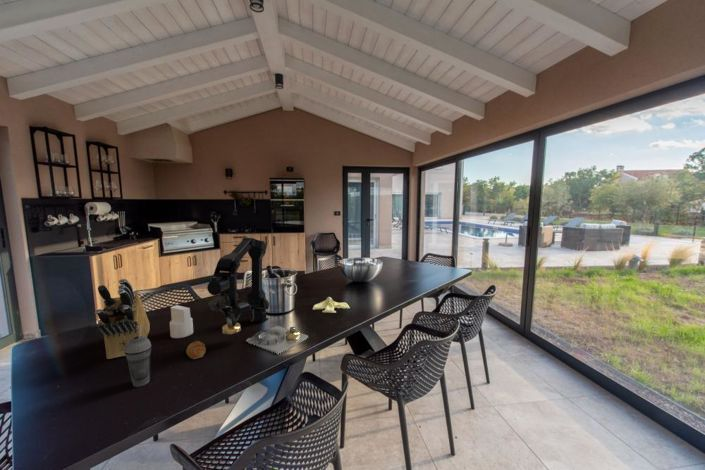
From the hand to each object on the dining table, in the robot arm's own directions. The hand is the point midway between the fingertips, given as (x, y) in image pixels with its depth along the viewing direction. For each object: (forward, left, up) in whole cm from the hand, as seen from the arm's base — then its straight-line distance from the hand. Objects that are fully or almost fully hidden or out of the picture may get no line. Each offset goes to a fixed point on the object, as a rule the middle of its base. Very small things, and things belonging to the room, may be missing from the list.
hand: (231, 324), depth 128 cm
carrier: (+14, +12, -8) cm, 20 cm away
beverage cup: (0, -34, -8) cm, 35 cm away
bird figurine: (+6, +57, -9) cm, 58 cm away
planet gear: (0, 0, -3) cm, 3 cm away
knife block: (-31, -26, -8) cm, 42 cm away
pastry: (-4, -13, -8) cm, 16 cm away
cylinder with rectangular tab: (-27, -7, -8) cm, 29 cm away
